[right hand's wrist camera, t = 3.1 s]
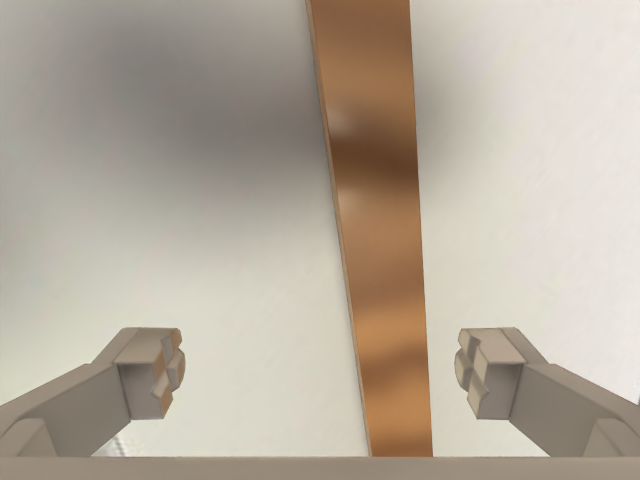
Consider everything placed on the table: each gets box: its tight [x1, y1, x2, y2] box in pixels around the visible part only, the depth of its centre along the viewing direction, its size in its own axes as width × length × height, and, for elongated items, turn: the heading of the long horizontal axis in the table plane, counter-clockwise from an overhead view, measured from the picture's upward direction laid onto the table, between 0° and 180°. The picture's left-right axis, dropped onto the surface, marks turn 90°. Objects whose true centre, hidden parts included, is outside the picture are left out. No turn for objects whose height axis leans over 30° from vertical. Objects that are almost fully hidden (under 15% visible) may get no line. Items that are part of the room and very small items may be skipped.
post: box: [305, 0, 433, 457], centre depth 32 cm, size 68×5×9 cm, turn 9°
